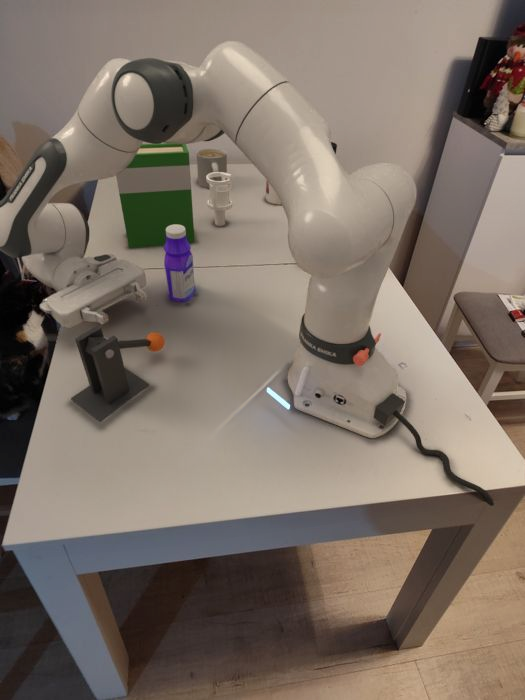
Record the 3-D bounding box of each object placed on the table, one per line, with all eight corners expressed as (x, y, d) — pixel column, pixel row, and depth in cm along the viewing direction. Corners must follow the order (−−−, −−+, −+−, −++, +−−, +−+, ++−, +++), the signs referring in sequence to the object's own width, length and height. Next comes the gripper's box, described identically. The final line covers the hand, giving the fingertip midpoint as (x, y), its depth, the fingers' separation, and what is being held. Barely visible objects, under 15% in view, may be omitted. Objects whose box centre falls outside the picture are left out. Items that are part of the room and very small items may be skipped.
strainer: (226, 230, 129) (226, 179, 119) (204, 226, 130) (201, 174, 120) (235, 220, 134) (235, 170, 124) (213, 216, 135) (212, 166, 125)
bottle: (188, 308, 101) (183, 238, 89) (165, 304, 101) (156, 234, 90) (198, 290, 106) (194, 222, 94) (176, 286, 107) (169, 218, 95)
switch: (152, 346, 86) (157, 329, 85) (165, 354, 85) (170, 336, 84) (81, 352, 72) (86, 332, 71) (95, 362, 71) (101, 341, 70)
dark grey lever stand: (121, 369, 85) (107, 312, 76) (150, 388, 82) (139, 331, 73) (72, 403, 79) (50, 345, 69) (101, 425, 75) (82, 367, 66)
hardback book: (128, 248, 119) (112, 155, 103) (127, 235, 124) (112, 145, 108) (194, 242, 123) (188, 152, 107) (191, 230, 128) (184, 142, 112)
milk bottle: (293, 199, 147) (299, 135, 134) (281, 207, 142) (286, 141, 129) (273, 193, 150) (277, 129, 136) (261, 201, 145) (263, 135, 131)
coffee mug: (199, 176, 158) (197, 147, 151) (227, 177, 158) (226, 148, 152) (196, 192, 148) (194, 161, 141) (226, 193, 148) (226, 162, 142)
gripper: (29, 291, 83) (75, 321, 78) (117, 250, 96) (162, 273, 90) (39, 317, 88) (83, 347, 82) (121, 274, 100) (165, 298, 94)
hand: (125, 308), depth 86 cm, fingers open, 8 cm apart
